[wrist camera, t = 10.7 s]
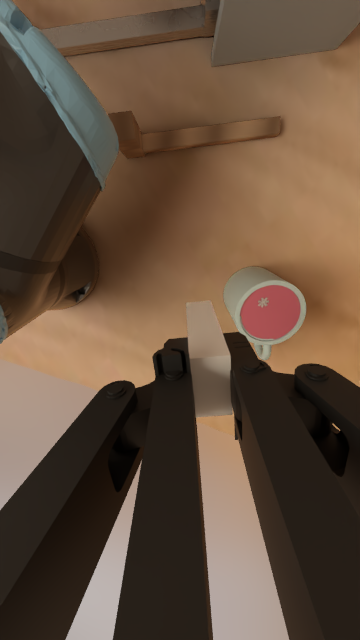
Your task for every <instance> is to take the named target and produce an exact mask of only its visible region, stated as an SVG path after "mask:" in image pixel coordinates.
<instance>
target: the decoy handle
mask: <svg viewBox="0 0 360 640" xmlns="http://www.w3.org/2000/svg"><path fill="white" fill-rule="evenodd" d="M108 115H109V118H110V120H111V122H112V123H113V126H114V128H115V131H116V133H117V136H118V142H119V149H120V150H121V151H122V153H123V154H124V155H125V156H126V157H127V158H136V157H144V156H145V153H152V152H160V151H167V150H175V149H183V148H191V147H199V146H207V145H215V144H223V143H231V142H239V141H247V140H255V139H263V138H271V137H276V136H277V135H278V134H280V116H279V117H272V118H264V119H256V120H248V121H241V122H233V123H225V124H217V125H210V126H202V127H194V128H186V129H179V130H171V131H163V132H156V133H148V134H142V133H141V131H140V128H139V126H138V124H137V122H136V120H135V118H134V115H133V113H132V111H126V112H118V113H111V114H108Z"/></svg>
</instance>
